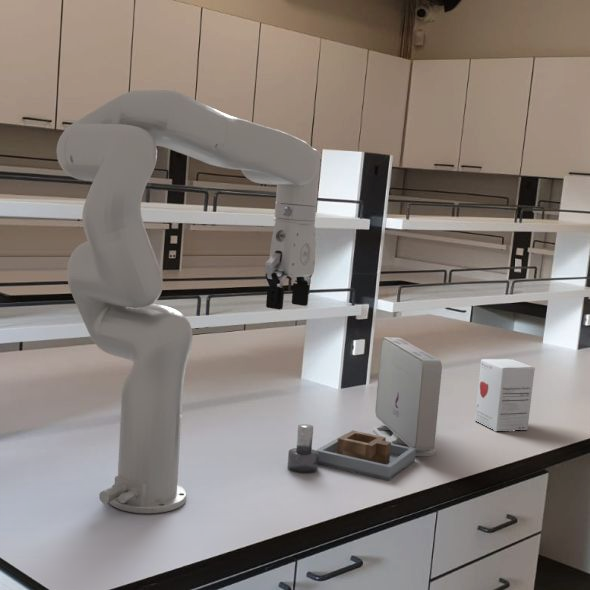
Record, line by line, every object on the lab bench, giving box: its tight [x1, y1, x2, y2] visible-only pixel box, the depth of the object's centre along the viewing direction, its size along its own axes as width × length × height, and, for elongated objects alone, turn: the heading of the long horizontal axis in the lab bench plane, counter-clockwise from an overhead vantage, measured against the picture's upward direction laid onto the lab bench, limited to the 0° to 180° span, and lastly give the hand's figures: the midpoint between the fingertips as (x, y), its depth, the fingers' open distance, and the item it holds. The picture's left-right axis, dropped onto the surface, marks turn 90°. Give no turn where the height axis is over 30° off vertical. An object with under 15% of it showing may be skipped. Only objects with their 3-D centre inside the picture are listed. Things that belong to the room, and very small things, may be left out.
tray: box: [314, 433, 417, 481], centre depth 166 cm, size 14×15×2 cm
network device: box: [372, 336, 443, 457], centre depth 181 cm, size 26×9×20 cm, turn 13°
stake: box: [287, 423, 319, 474], centre depth 160 cm, size 6×6×8 cm
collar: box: [337, 430, 391, 465], centre depth 166 cm, size 9×7×4 cm
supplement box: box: [474, 358, 536, 432], centre depth 199 cm, size 9×9×15 cm
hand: (287, 306), depth 161 cm, fingers open, 9 cm apart
